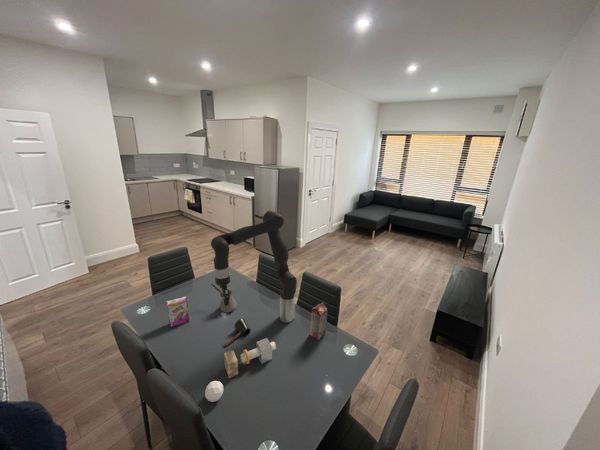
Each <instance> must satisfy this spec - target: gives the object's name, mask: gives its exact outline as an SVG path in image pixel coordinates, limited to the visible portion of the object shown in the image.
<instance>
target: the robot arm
mask: <svg viewBox="0 0 600 450" xmlns="http://www.w3.org/2000/svg"><path fill="white" fill-rule="evenodd" d="M262 217H263V218H262V222H260V223H257V224H251V225H248V226H247V225H246V226H243V227H240V228H238V229H235V230H234V231H231V232H229V233H224V234H220V235H217V236H215V237H214V238H212V239H211V241H210V247H211V248H212V250H214V257H213V267H214V269H213V270H214V282H215V284H216V285H217V286H218V289H219V290H220V292H219V293H220V298H222V299H223V298H224V305H225V306H227V305H229V300H230V297H229V286H228V284H230V283H231V274H230V273H231V271H230V266H229V255H230V245H232V246H237V245H240V244H242V243H244V242H247V241H248V240H250V239H253V238H255V237H258V236H261V235H264V234H267V236H268V240H269V244H270V248H271V251H272V256H273V260H274V263H275V266H276V273H277V279H278V282H279V284H280V285H282V287H283V288H282V289H281V290H280V293H279V320H280V321H281V322H283V323H291V322H292V321H294V319H296V317H295V316H296V306H295V295H296V293H297V283H298V282H297V281H298V280H297V277H296V276H295V275H294V274H293V273H292V272H290V268H289V266H288V261H289V257H290V255H289V250H288V249H289V248H288V245H287V244H286V243H287V242H286V241H285V239H284V237H283V236H282V234H281V232H280V229H281V228H282V227H283V226H284V223H285V219H284V217H283V216H282V215H281V214H279V213H278V212H275V211H273V210H268V211H267V210H266V212H265V213H264V214H263V216H262Z"/></svg>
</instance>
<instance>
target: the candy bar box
mask: <svg viewBox="0 0 600 450" xmlns="http://www.w3.org/2000/svg"><path fill="white" fill-rule="evenodd" d="M165 302H166V309H167V315H168V323H169V324H168V325H169V328H173V327H177V326H180V325H183V324H186V323H189V322H190V317H189V315H190V314H189V306H188V299H187V296H182V297H179V298H174V299H171V300H166V301H165Z"/></svg>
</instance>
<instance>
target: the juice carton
mask: <svg viewBox="0 0 600 450" xmlns="http://www.w3.org/2000/svg"><path fill="white" fill-rule="evenodd" d="M327 318H328V308H327V306H326V305H325V304H324V301H323V302H321V303H318V304H317V305H315V306H314V307H312V308H311V315H310V327H309V329H310V331H309V335H310V336H311V337H313V338H314V339H316V340H317V341H319V340H320V339H322V338H323V337H324V336H326V329H327Z"/></svg>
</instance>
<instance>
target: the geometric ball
mask: <svg viewBox="0 0 600 450" xmlns="http://www.w3.org/2000/svg"><path fill="white" fill-rule="evenodd" d="M204 393H205V394H204V395H205V396H204V397H205V399H206V400H207V401H208V402H211V403H213V402H217V401H219V400H220V399H221V397H222V395H223V393H224V385H223V383H221V381H220V380H213V381H210V382H209V384H208V385H207V386H206V388H205V391H204Z"/></svg>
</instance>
